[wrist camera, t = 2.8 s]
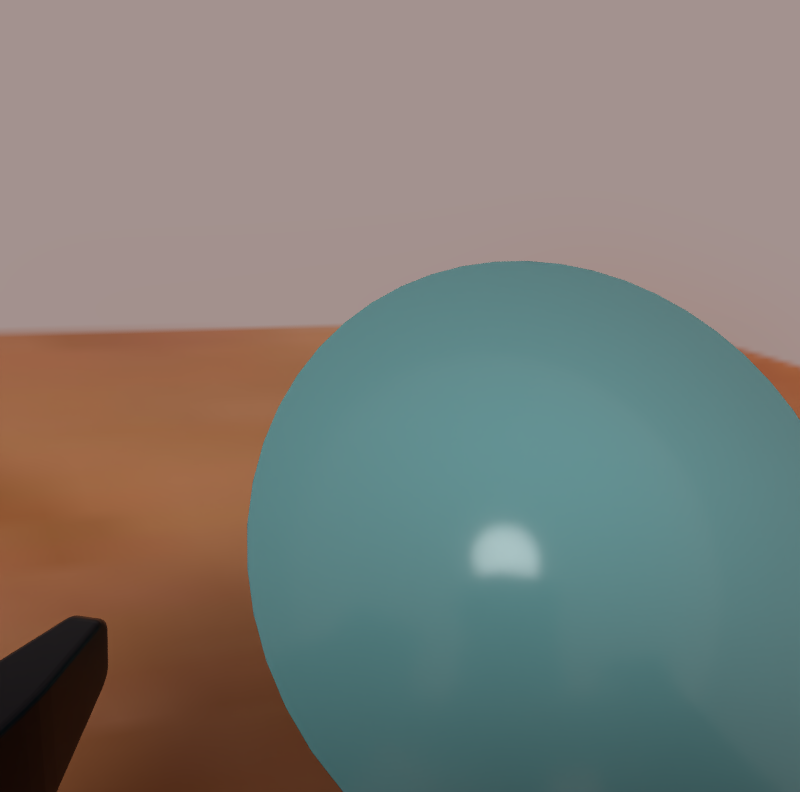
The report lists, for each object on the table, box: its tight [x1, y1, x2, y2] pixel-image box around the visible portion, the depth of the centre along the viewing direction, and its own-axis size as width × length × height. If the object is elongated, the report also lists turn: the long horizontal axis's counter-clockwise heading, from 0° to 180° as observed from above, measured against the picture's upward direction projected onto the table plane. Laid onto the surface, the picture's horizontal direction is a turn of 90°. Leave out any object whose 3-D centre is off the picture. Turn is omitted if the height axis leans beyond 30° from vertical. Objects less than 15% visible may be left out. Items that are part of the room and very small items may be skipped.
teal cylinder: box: [247, 261, 800, 792], centre depth 11 cm, size 5×5×13 cm
